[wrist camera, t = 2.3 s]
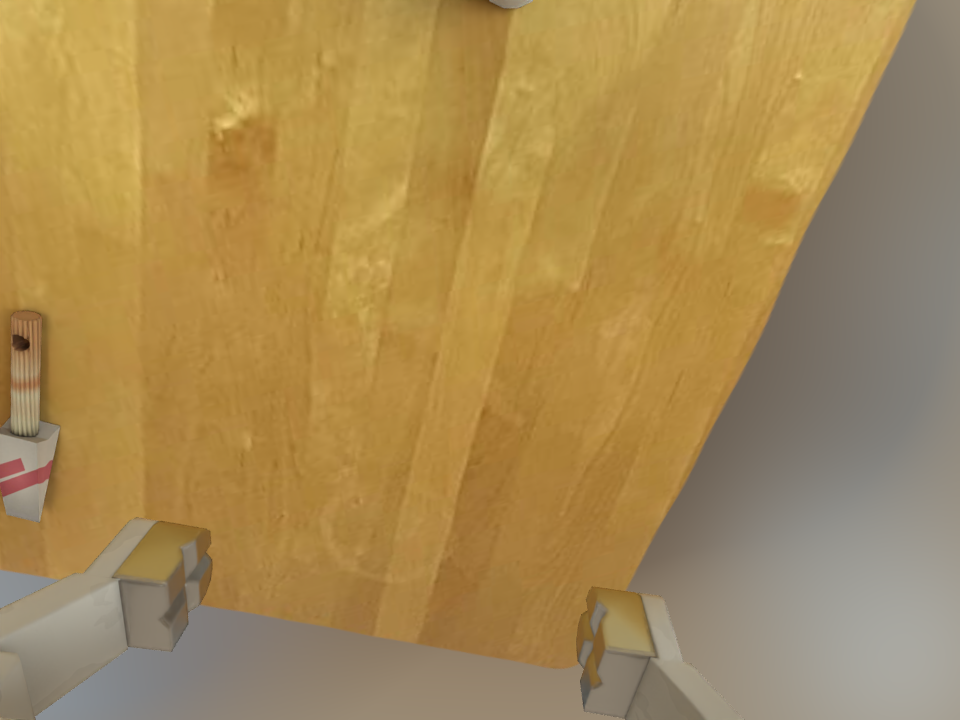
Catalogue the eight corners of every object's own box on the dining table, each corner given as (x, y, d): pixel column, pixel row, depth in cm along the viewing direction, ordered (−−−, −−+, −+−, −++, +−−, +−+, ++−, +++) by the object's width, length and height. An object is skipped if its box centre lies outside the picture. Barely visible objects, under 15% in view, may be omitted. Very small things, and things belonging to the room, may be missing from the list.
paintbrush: (-14, 523, 51) (-13, 314, 43) (10, 503, 53) (14, 302, 45) (33, 535, 51) (42, 330, 43) (54, 515, 54) (66, 318, 46)
